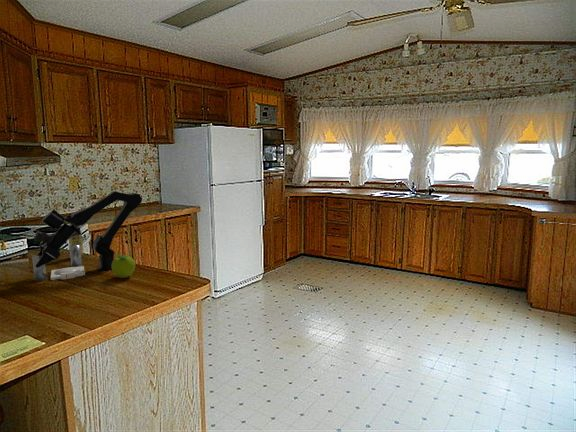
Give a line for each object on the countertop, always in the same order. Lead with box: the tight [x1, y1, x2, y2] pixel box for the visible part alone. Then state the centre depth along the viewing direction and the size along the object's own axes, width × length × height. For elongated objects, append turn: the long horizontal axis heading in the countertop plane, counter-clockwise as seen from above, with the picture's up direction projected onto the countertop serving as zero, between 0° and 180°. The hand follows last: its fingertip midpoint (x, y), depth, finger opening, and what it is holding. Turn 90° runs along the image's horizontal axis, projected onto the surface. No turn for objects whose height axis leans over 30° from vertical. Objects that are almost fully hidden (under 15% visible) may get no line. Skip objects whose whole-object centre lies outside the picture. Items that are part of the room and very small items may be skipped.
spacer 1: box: [31, 255, 48, 282], centre depth 172 cm, size 4×4×10 cm
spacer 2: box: [68, 245, 83, 267], centre depth 193 cm, size 4×4×10 cm
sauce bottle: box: [68, 223, 84, 259], centre depth 209 cm, size 6×6×20 cm
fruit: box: [111, 253, 136, 279], centre depth 173 cm, size 9×9×10 cm
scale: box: [50, 265, 86, 281], centre depth 179 cm, size 13×15×2 cm
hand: (35, 264), depth 171 cm, fingers open, 9 cm apart
